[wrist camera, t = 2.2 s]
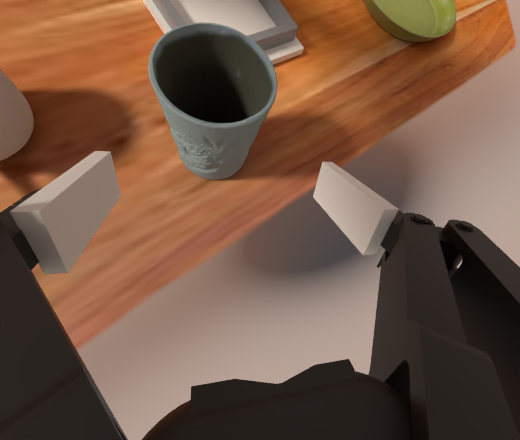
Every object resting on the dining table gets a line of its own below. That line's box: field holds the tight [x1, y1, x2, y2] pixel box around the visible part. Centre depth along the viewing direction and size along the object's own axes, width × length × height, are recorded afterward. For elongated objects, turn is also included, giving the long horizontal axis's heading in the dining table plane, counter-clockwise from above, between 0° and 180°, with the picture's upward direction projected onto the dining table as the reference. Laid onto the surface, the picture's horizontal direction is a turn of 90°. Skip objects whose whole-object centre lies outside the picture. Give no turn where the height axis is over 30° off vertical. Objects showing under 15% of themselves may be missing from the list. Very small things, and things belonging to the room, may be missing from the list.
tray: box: [142, 0, 304, 65], centre depth 32 cm, size 20×18×3 cm
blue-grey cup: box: [149, 22, 277, 180], centre depth 24 cm, size 10×10×12 cm
